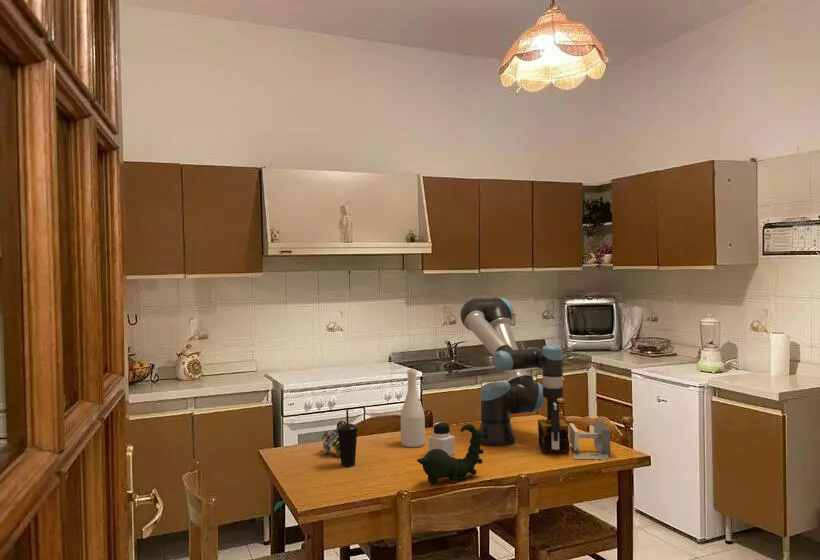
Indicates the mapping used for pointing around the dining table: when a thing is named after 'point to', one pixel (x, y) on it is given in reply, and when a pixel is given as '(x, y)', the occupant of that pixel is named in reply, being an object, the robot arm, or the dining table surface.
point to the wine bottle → (412, 415)
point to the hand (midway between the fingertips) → (553, 445)
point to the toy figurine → (453, 460)
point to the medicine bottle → (442, 439)
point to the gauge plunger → (578, 436)
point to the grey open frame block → (599, 443)
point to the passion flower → (331, 442)
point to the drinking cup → (347, 442)
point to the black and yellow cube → (546, 436)
